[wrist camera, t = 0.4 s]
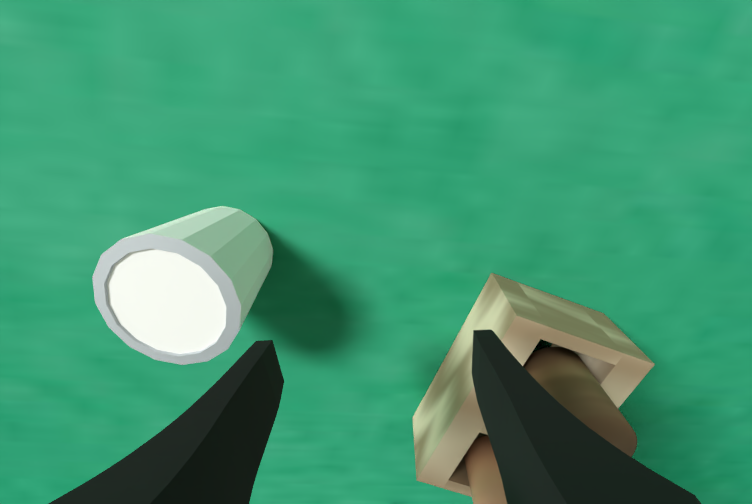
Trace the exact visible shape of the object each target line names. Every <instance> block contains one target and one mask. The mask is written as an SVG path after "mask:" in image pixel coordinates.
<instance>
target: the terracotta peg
mask: <svg viewBox="0 0 752 504" xmlns="http://www.w3.org/2000/svg"><path fill="white" fill-rule="evenodd" d="M464 460H465V465H466V470H467V475H468V480H469V485H470V490H471V495H472V500H473V504H507V501H506V496H505V492H504V487H503V483H502V479H501V475H500V472H499V468H498V464H497V461H496V458H495V455H494V452H493V449H492V446H491V443H490V440H489V437H488V435H486V436H482V437H480V438H477V439H476V440H474V441H473V443H472V444H471V446H470V448H469V449H468V451H467V452H466V454H465V455H464Z"/></svg>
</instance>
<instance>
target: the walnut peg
mask: <svg viewBox="0 0 752 504" xmlns="http://www.w3.org/2000/svg"><path fill="white" fill-rule="evenodd" d="M523 367H524V368H525V369H526V370H527V371H528V372H529V373H530V375H531V376H532V377H533V378H534V379H535V380H536V381H537V382H538V383H539V384H540V385H541V386H542V387H543V388H544V389H545V390H546V391H547V392H548V393H549V394H550V395H552V396H553V397H554V398H555V399H556V400H557V401H558V402H559V403H560V404H561V405H562V406H564V407H565V408H566V409H567V410H568V411H569V412H571V413H572V414H573V415H574V416H575V417H577V418H578V419H579V420H580V421H582V422H583V423H584V424H585V425H587V426H588V427H589V428H590V429H592V430H593V431H595V432H596V433H597V434H599V435H600V436H601V437H603V438H604V439H606V440H607V441H608V442H610V443H611V444H612V445H614V446H615V447H617V448H618V449H620V450H621V451H622V452H624V453H625V454H627V455H629V456H630V457H632V455H633V454H634V452H635V449H636V446H637V437H636V434H635V432H634V430H633V429H632V427H631V426H630V425H629V423H628V422H627V421H626V419H625V418H624V416H623V415H622V414H621V412H620V411H619V410H618V408H617V407H616V406H615V404H614V403H613V402H612V400H611V399H610V397H609V396H608V395H607V393H606V392H605V391H604V389H603V388H602V387H601V385H600V384H599V383H598V381H597V380H596V378H595V377H594V376H593V374H592V373H591V372H590V370H589V369H588V368H587V366H586V365H585V364H584V362H583V361H582V360H581V358H580V357H579V356H578V355H577V354H576V353H575V352H573V351H572V350H569V349H567V348H563V347H547V348H543V349H540V350H537V351H535V352H533V353H532V354H530V356H529V357H528V359H527V361H526V362H525V364H524V365H523Z"/></svg>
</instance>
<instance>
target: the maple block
mask: <svg viewBox="0 0 752 504" xmlns="http://www.w3.org/2000/svg"><path fill="white" fill-rule="evenodd" d="M489 329H491V330H492V331H494V332H495V334H496V335H497V336H498V338H499V339H500V340H501V341H502V343H503V344H504V345H505V346H506V348H507V349H508V350H509V351H510V352H511V353H512V355H513V356H514V357H515V358H516V359H517V360H518V362H519V363H520V364H521V365H522V366H523V365H524V364H525V362H526V361H527V359H528V357H529V356H530V354H531V353H532V351H533V350H534V348H535V347H536V345H537V344H538V342H539V341H540V339H542V340H545V341H547V342H550V343H553V344H552V345H551V347H563V348H567V349H569V350H572V351H573V352H575V353H576V354H577V355H578V356H579V357H580V358H581V360H582V361H583V362H584V364H585V365H586V366H587V368H588V369H589V370H590V372H591V373H592V374H593V376H594V377H595V378H596V380H597V381H598V383H599V384H600V385H601V387H602V388H603V389H604V391H605V392H606V393H607V395H608V396H609V397H610V399H611V400H612V402H613V403H614V404H615V406H616V407H617V408H619V407H620V406H621V404H622V403H623V402H624V401H625V400H626V398H627V397H628V396H629V395H630V394H631V392H632V391H633V390H634V389H635V388H636V386H637V385H638V384H639V383H640V382H641V380H642V379H643V378H644V377H645V376H646V374H647V373H648V372H649V371H650V369H651V368H652V367H653V366H654V365H655V364H654V363H653V362H652V361H651V360H650V359H649V358H648V357H647V356H646V355H645V354H644V353H643V352H642V351H641V350H640V349H639V348H638V347H637V346H636V345H635V344H634V343H633V342H632V341H631V340H630V339H629V338H628V337H627V336H626V335H625V334H624V333H623V332H622V331H621V330H620V329H619V328H618V327H617V326H616V325H615V324H614V323H613V322H612V321H611V320H610V319H609V318H608V317H607V316H606V315H605V314H604V313H601V312H598V311H595V310H593V309H590V308H587V307H584V306H582V305H579V304H576V303H573V302H571V301H568V300H565V299H562V298H560V297H557V296H554V295H551V294H549V293H546V292H543V291H540V290H538V289H535V288H532V287H529V286H527V285H524V284H521V283H518V282H516V281H513V280H510V279H507V278H504V277H502V276H499V275H496V274H493V273H491V275H490V277H489V279H488V280H487V282H486V284H485V286H484V288H483V290H482V291H481V293H480V295H479V297H478V299H477V301H476V302H475V304H474V306H473V308H472V310H471V312H470V313H469V315H468V317H467V319H466V321H465V322H464V324H463V326H462V328H461V330H460V332H459V333H458V335H457V337H456V339H455V341H454V343H453V344H452V346H451V348H450V350H449V352H448V354H447V355H446V357H445V359H444V361H443V363H442V365H441V366H440V368H439V370H438V372H437V374H436V376H435V377H434V379H433V381H432V383H431V385H430V387H429V388H428V390H427V392H426V394H425V396H424V398H423V399H422V401H421V403H420V405H419V407H418V409H417V410H416V412H415V414H414V416H413V431H414V447H415V462H416V478H417V481H421V482H424V483H427V484H431V485H434V486H437V487H441V488H444V489H447V490H451V491H454V492H457V493H461V494H464V495H467V496H471V497H472V495H471V490H470V485H469V480H468V475H467V470H466V465H465V460H464V455H465V454H466V452H467V451H468V449H469V448H470V446H471V444H472V443H473V441H474V440H476V439H477V438H480V437H482V436H486V435H488V434H487V430H486V427H485V424H484V421H483V418H482V415H481V412H480V409H479V405H478V402H477V398H476V393H475V388H474V383H473V378H472V351H473V330H489Z"/></svg>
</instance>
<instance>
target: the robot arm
mask: <svg viewBox="0 0 752 504" xmlns="http://www.w3.org/2000/svg"><path fill="white" fill-rule="evenodd" d="M472 378H473V383H474V388H475V393H476V398H477V402H478V405H479V409H480V412H481V415H482V418H483V421H484V424H485V427H486V430H487V434H488V437H489V440H490V443H491V446H492V449H493V452H494V455H495V458H496V461H497V464H498V468H499V472H500V475H501V479H502V483H503V487H504V492H505V496H506V501H507V504H701V503H700V501H699V500H698V499H697V498H696V496H695V495H693V494H692V493H690V492H688V491H687V490H685V489H683V488H681V487H680V486H678V485H676V484H674V483H673V482H671V481H669V480H668V479H666V478H664V477H662V476H661V475H659V474H657V473H655V472H654V471H652V470H650V469H649V468H647V467H646V466H644V465H642V464H641V463H639V462H638V461H636V460H635V459H633V458H632V457H630V456H629V455H627V454H625V453H624V452H622V451H621V450H620V449H618V448H617V447H615V446H614V445H612V444H611V443H610V442H608V441H607V440H606V439H604V438H603V437H601V436H600V435H599V434H597V433H596V432H595V431H593V430H592V429H590V428H589V427H588V426H587V425H585V424H584V423H583V422H582V421H580V420H579V419H578V418H577V417H575V416H574V415H573V414H572V413H571V412H569V411H568V410H567V409H566V408H565V407H564V406H562V405H561V404H560V403H559V402H558V401H557V400H556V399H555V398H554V397H553V396H552V395H550V394H549V393H548V392H547V391H546V390H545V389H544V388H543V387H542V386H541V385H540V384H539V383H538V382H537V381H536V380H535V379H534V378H533V377H532V376H531V375H530V373H529V372H528V371H527V370H526V369H525V368H524V367H523V366H522V365H521V364H520V363H519V362H518V360H517V359H516V358H515V357H514V356H513V355H512V353H511V352H510V351H509V350H508V349H507V348H506V346H505V345H504V344H503V343H502V341H501V340H500V339H499V338H498V336H497V335H496V334H495V332H494V331H492V330H491V329H489V330H473V351H472ZM283 384H284V379H283V376H282V372H281V369H280V365H279V362H278V358H277V355H276V351H275V348H274V344H273V341H272V340H268V341H256V342H255V343H254V344H253V345H252V346H251V347H250V348H249V349H248V350H247V351H246V352H245V353H244V354H243V355H242V356H241V357H240V358H239V359H238V361H237V362H236V363H235V364H234V365H233V366H232V367H231V368H230V369H229V370H228V371H227V372H226V373H225V374H224V375H223V376H222V377H221V378H220V379H219V380H218V381H217V382H216V383H215V384H214V385H213V386H212V387H211V388H210V389H209V390H208V391H207V392H206V393H205V394H204V395H203V396H202V397H201V398H199V399H198V400H197V401H196V402H195V403H194V404H193V405H192V406H191V407H190V408H189V409H188V410H186V411H185V412H184V413H183V414H182V415H181V416H179V417H178V418H177V419H176V420H175V421H173V422H172V423H171V424H170V425H168V426H167V427H166V428H165V429H163V430H162V431H161V432H160V433H158V434H157V435H156V436H154V437H153V438H151V439H150V440H149V441H147V442H146V443H145V444H143V445H142V446H140V447H139V448H138V449H136V450H135V451H134V452H132V453H131V454H129V455H128V456H126V457H125V458H123V459H122V460H120V461H119V462H117V463H116V464H114V465H113V466H111V467H110V468H108V469H107V470H105V471H103V472H102V473H100V474H99V475H97V476H96V477H94V478H92V479H91V480H89V481H87V482H86V483H84V484H82V485H81V486H79V487H77V488H75V489H73V490H72V491H70V492H68V493H66V494H65V495H63V496H61V497H59V498H58V499H56V500H54V501H52V502H51V503H49V504H249V501H250V497H251V493H252V488H253V484H254V481H255V478H256V474H257V471H258V468H259V465H260V462H261V459H262V456H263V453H264V450H265V447H266V444H267V441H268V438H269V435H270V433H271V430H272V427H273V424H274V421H275V418H276V415H277V411H278V408H279V404H280V399H281V394H282V389H283Z"/></svg>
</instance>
